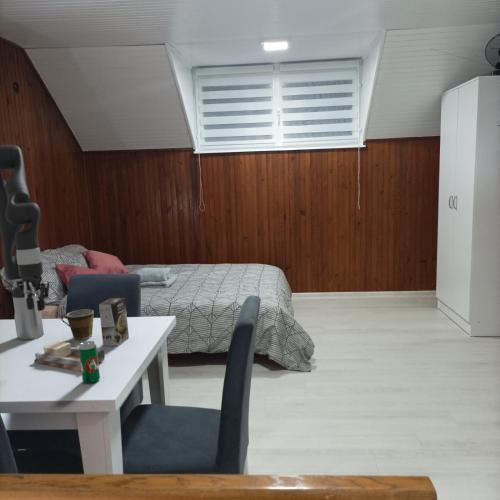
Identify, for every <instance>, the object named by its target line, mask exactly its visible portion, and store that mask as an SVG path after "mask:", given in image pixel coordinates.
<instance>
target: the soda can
mask: <svg viewBox="0 0 500 500" xmlns="http://www.w3.org/2000/svg"><path fill="white" fill-rule="evenodd" d="M78 348H79V356H80V364H81V371H80V372H81V380H82V382H83V383H85V384H87V385H90V384H94V383H97V382H98V381H99V380H100V378H101V375H100V374H101V373H100V364H99V363H98V356H97V351H98V348H97V344H96V342H95V341H94V340H93V341H92V340H86V341H83V342H81V343H79V347H78Z"/></svg>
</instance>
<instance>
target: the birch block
mask: <svg viewBox="0 0 500 500" xmlns="http://www.w3.org/2000/svg"><path fill="white" fill-rule="evenodd" d="M43 352H44V353H43V354H48V355H54V356H60V357H67V356H69V355H71V343H70V342H64V341H59V340H58V341H55V342H54V343H50V344H48V345H46V346H44V347H43Z"/></svg>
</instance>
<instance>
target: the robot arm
mask: <svg viewBox="0 0 500 500" xmlns="http://www.w3.org/2000/svg"><path fill="white" fill-rule="evenodd" d="M24 161H25V160H24V155H23V151H22V150H21V148H20V147H19V146H18V145H15V144H0V236H1V237H0V238H1V246H2V256H3V257H2V258H3V268H4V274H5V277H6V278H7V280H9V281H14V280H16V281H15V282H16V287H14V288H13V289H12V290H11V294H12V295H11V296H12V300H13V301H12V302H13V307H14V314H13V317H14V324H15V331H16V337H17V338H18V339H19V340H21V341H23V340H24V341H26V340H27V341H28V340H34V339H38V338H40V337H42V336H43V335H44V334H45V333H44V325H43V316H42V311H44V310H45V307H46V305H45V299H48V298H49V292H50V282H49V280H48V281H47V280H46V281H45V280H43V278H42V275H43V274H44V268H43V259H42V254H41V249H40V243H39V234H38V233H39V226H40V225H39V224H40V219H41V208H40V206H39V205H38V204H37V203H36V202H30V201H31V196H30V192H29V189H28V186H27V178H26V169H25V163H24ZM2 171H13V172H12V173H11V174H10V176H9V177H7V179H6V180H5V179H4V176H3V174H2ZM26 224H27V225H28V224H29V227H28V228H26V229H24V228H25V225H26ZM23 229H24V230H23ZM15 247H16V255H13V251H14V248H15Z"/></svg>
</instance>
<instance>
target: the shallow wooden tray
mask: <svg viewBox="0 0 500 500" xmlns="http://www.w3.org/2000/svg"><path fill="white" fill-rule="evenodd" d="M34 356H35V358H34V363H35V364H39V365H45V366H51V367H56V368H60V369H67V370H72V371H75V372H76V371H77V372H81V364H80V356H79V347H71V355H69V356H67V357H60V356H54V355H48V354H44V353H41V352H36V353H34ZM97 356H98V364H99V363H101V362H104V360H105V358H106V357H105V350H104V349H100V350H97Z"/></svg>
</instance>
